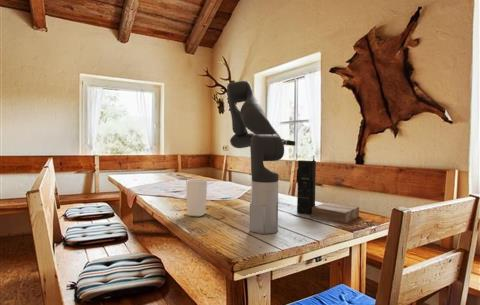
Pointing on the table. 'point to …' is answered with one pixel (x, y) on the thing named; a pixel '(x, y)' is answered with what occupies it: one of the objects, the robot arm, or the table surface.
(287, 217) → the table surface
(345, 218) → the walnut stand
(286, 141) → the robot arm
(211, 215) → the table surface
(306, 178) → the portable radio
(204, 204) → the cup
